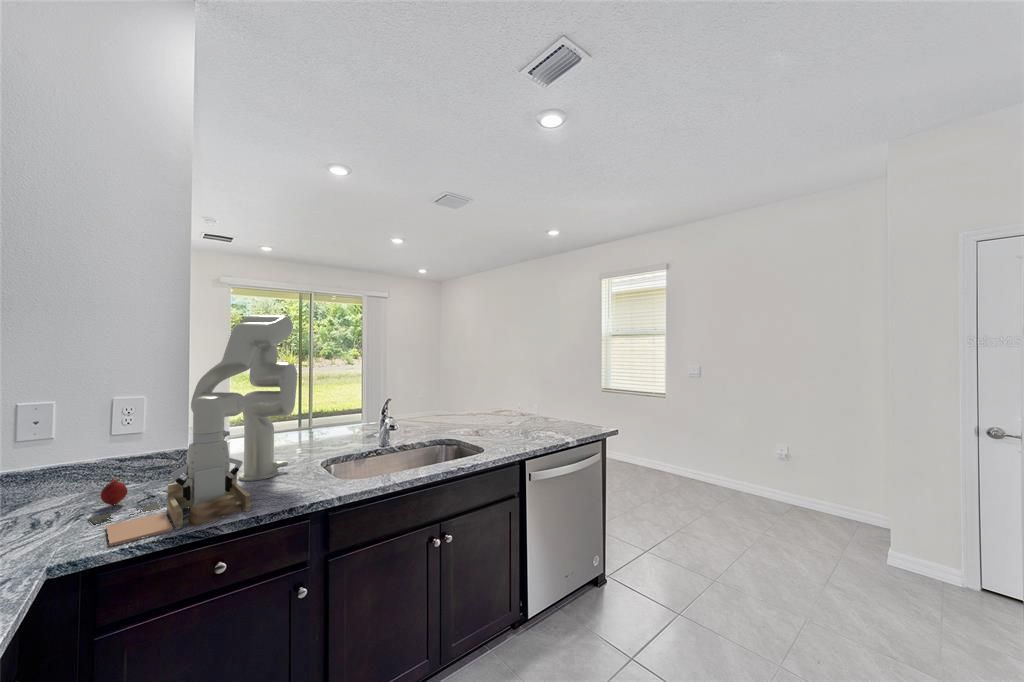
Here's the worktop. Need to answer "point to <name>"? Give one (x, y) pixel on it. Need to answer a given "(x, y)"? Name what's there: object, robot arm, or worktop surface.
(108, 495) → the onion
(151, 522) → the terracotta tile
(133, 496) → the worktop surface
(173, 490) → the light wood blocky piece
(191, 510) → the brown wooden rectangular block
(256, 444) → the robot arm
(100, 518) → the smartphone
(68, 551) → the worktop surface
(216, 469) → the supplement box
